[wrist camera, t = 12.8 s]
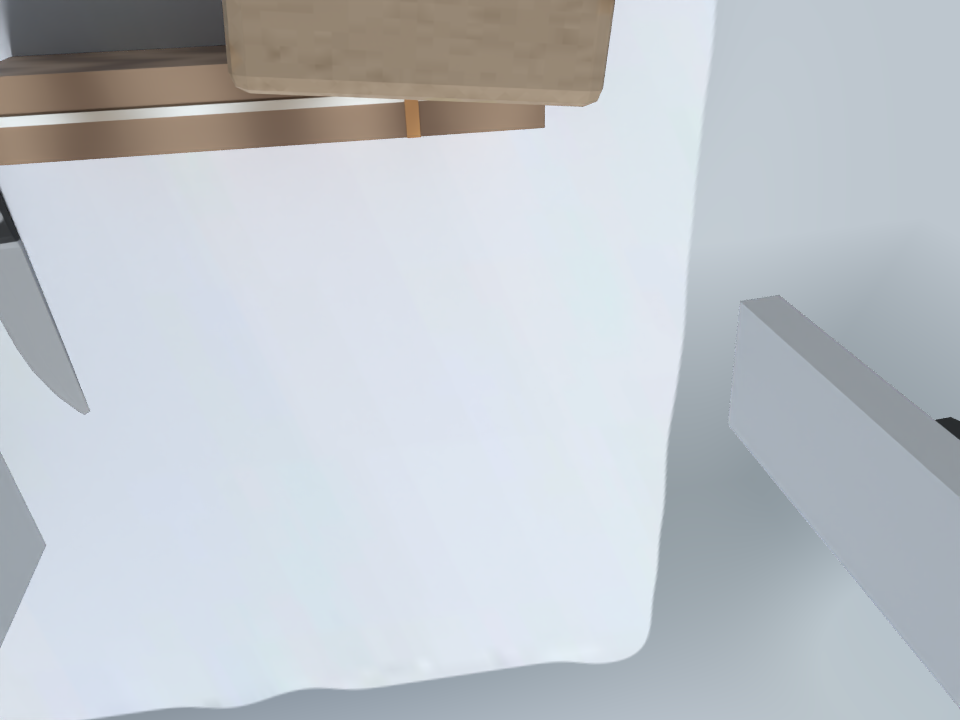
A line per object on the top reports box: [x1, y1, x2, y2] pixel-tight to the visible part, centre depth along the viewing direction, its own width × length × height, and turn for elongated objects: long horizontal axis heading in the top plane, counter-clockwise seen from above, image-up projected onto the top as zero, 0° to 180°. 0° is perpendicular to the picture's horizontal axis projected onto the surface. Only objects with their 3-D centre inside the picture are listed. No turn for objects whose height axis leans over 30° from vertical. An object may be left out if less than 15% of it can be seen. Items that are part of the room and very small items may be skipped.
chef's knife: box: [0, 195, 90, 415], centre depth 41 cm, size 19×1×3 cm
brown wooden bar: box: [0, 45, 545, 165], centre depth 35 cm, size 24×4×6 cm, turn 92°
